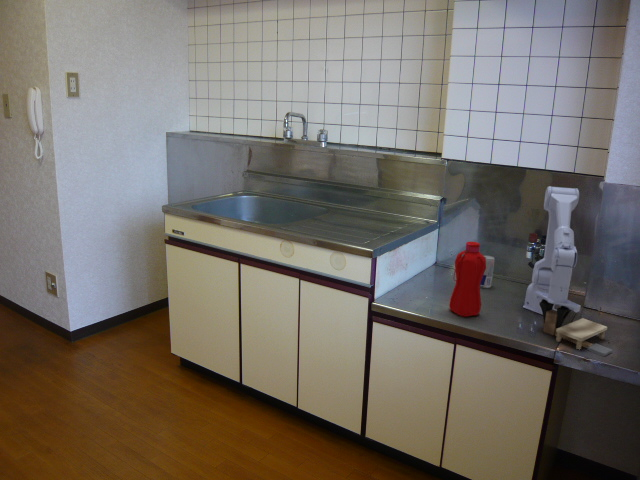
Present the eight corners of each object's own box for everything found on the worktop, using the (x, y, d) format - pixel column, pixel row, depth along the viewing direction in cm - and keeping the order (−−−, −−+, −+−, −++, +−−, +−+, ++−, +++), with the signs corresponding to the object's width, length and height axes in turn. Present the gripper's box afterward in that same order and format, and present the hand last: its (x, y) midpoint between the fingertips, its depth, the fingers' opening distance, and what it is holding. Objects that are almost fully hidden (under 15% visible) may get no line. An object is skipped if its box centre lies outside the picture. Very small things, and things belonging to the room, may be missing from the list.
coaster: (586, 351, 165) (587, 347, 164) (595, 347, 168) (595, 343, 167) (603, 358, 161) (604, 353, 160) (611, 353, 164) (612, 349, 163)
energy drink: (476, 283, 219) (479, 254, 216) (489, 284, 218) (493, 255, 215) (477, 287, 214) (481, 258, 211) (491, 289, 213) (496, 259, 210)
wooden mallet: (543, 331, 176) (546, 311, 174) (549, 329, 178) (552, 309, 176) (588, 349, 165) (592, 328, 163) (593, 346, 167) (597, 325, 165)
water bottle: (441, 309, 190) (449, 240, 183) (466, 305, 194) (475, 238, 188) (457, 319, 182) (466, 247, 175) (483, 315, 186) (493, 245, 180)
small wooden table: (554, 340, 170) (556, 328, 169) (580, 329, 179) (582, 318, 178) (579, 350, 164) (581, 338, 162) (605, 338, 173) (607, 326, 172)
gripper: (531, 280, 175) (525, 320, 178) (575, 295, 164) (567, 336, 167) (543, 277, 179) (537, 315, 182) (586, 290, 168) (579, 331, 171)
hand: (552, 325), depth 175 cm, fingers closed on wooden mallet, 3 cm apart
